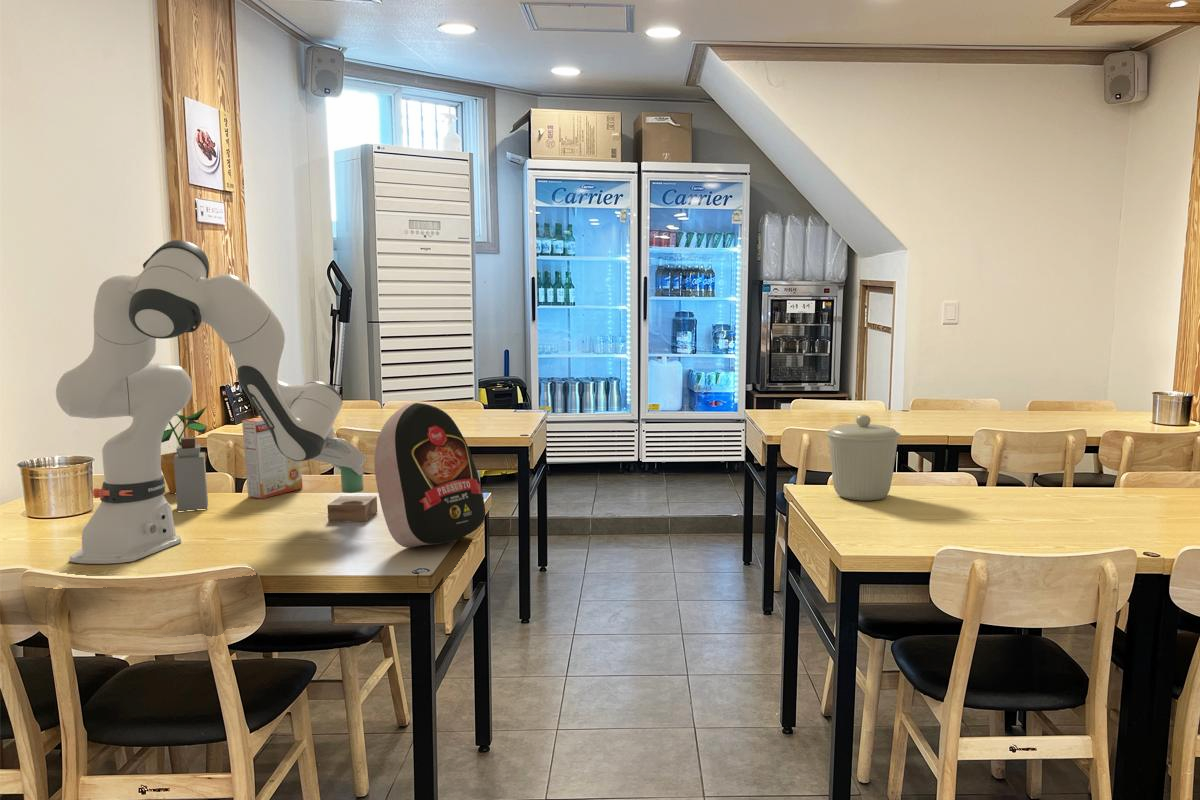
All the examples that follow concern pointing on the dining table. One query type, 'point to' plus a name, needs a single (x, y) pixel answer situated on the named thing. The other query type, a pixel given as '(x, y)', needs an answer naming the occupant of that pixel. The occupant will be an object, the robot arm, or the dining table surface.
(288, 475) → the cracker box
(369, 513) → the walnut block
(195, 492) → the perfume bottle
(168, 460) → the potted plant
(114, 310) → the robot arm
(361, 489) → the green bottle
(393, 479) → the packaged food
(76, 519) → the dining table surface
